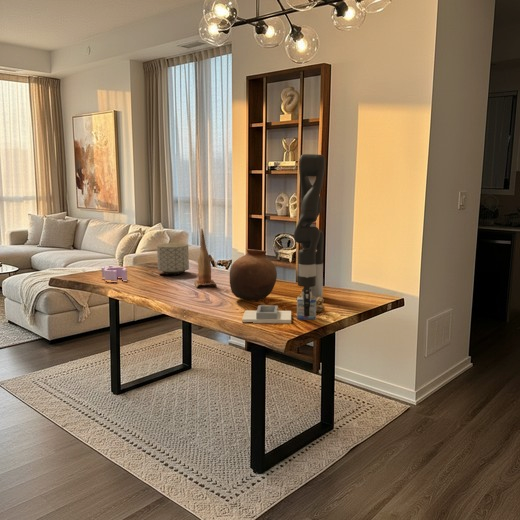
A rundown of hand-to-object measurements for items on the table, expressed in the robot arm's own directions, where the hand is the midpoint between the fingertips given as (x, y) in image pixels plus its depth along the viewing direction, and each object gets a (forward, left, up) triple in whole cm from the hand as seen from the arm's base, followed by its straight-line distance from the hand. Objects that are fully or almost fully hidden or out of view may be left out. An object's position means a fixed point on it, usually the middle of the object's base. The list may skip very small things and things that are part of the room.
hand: (306, 314), depth 214 cm
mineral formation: (-14, +2, -2) cm, 14 cm away
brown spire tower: (-63, -54, -2) cm, 83 cm away
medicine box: (0, 0, -2) cm, 2 cm away
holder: (0, -17, -2) cm, 17 cm away
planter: (-98, -80, -2) cm, 127 cm away
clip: (-79, -111, -2) cm, 137 cm away
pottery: (-32, -25, -2) cm, 41 cm away
